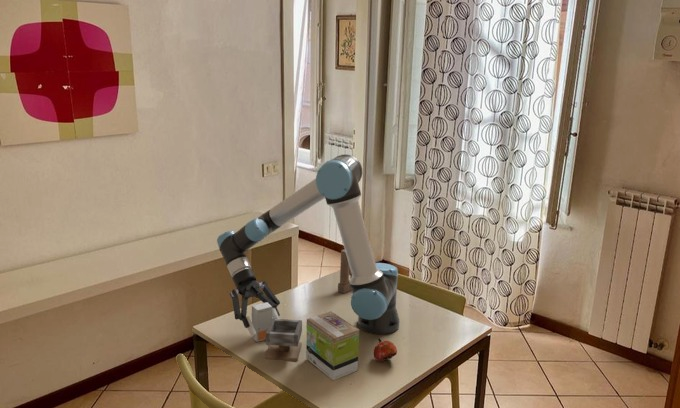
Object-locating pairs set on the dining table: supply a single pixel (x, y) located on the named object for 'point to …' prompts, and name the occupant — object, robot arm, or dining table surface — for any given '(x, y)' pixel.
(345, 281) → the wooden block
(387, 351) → the red rounded piece
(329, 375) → the tea box
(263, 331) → the skincare box
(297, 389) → the dining table surface
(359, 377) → the dining table surface
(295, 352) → the cup stand
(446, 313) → the dining table surface
